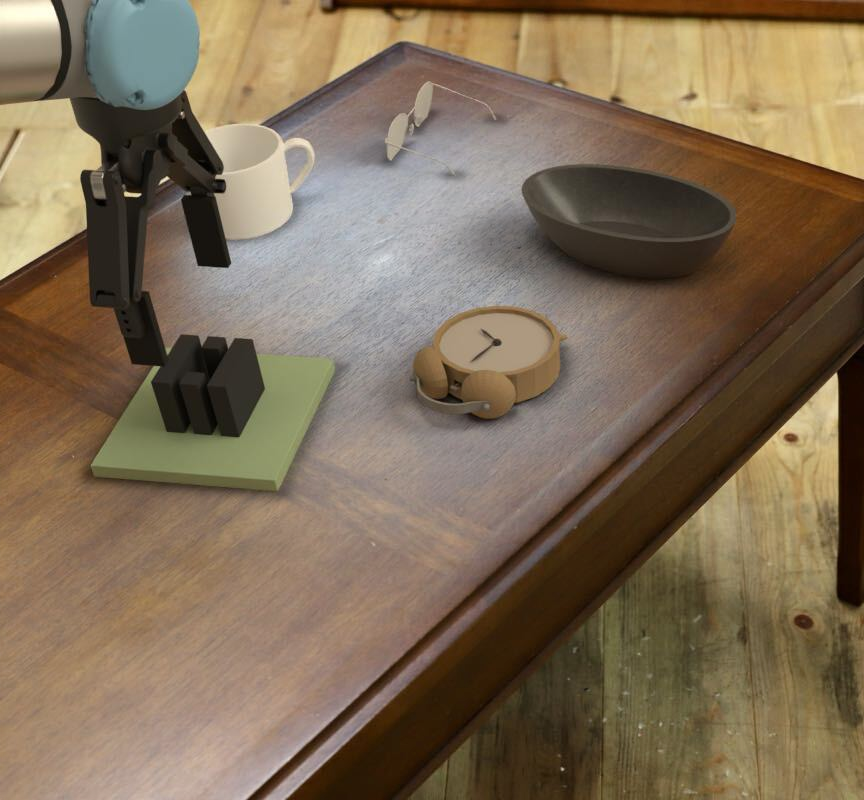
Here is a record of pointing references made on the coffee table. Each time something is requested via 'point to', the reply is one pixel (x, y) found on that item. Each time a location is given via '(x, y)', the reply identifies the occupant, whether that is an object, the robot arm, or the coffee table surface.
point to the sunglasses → (420, 113)
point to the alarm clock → (488, 361)
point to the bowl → (629, 218)
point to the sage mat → (214, 454)
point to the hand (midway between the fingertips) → (184, 311)
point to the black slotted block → (209, 385)
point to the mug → (255, 178)
